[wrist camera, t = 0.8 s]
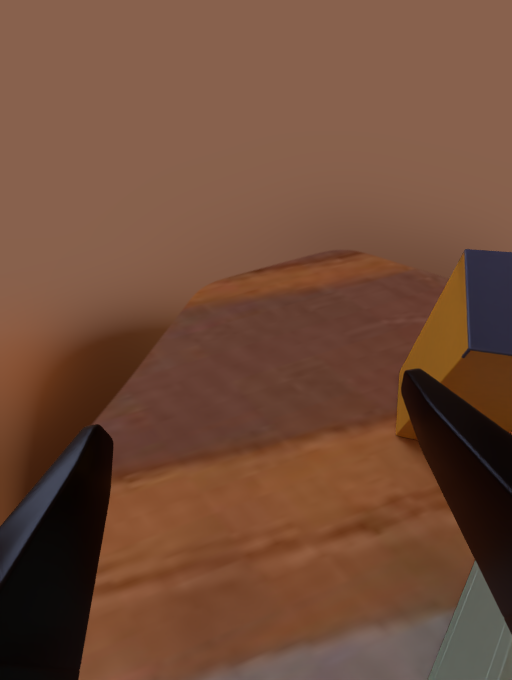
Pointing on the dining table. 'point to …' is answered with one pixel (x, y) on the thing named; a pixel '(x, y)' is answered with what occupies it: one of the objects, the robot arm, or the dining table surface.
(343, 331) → the dining table surface
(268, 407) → the dining table surface
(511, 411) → the carton
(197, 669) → the dining table surface
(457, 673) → the cabinet
